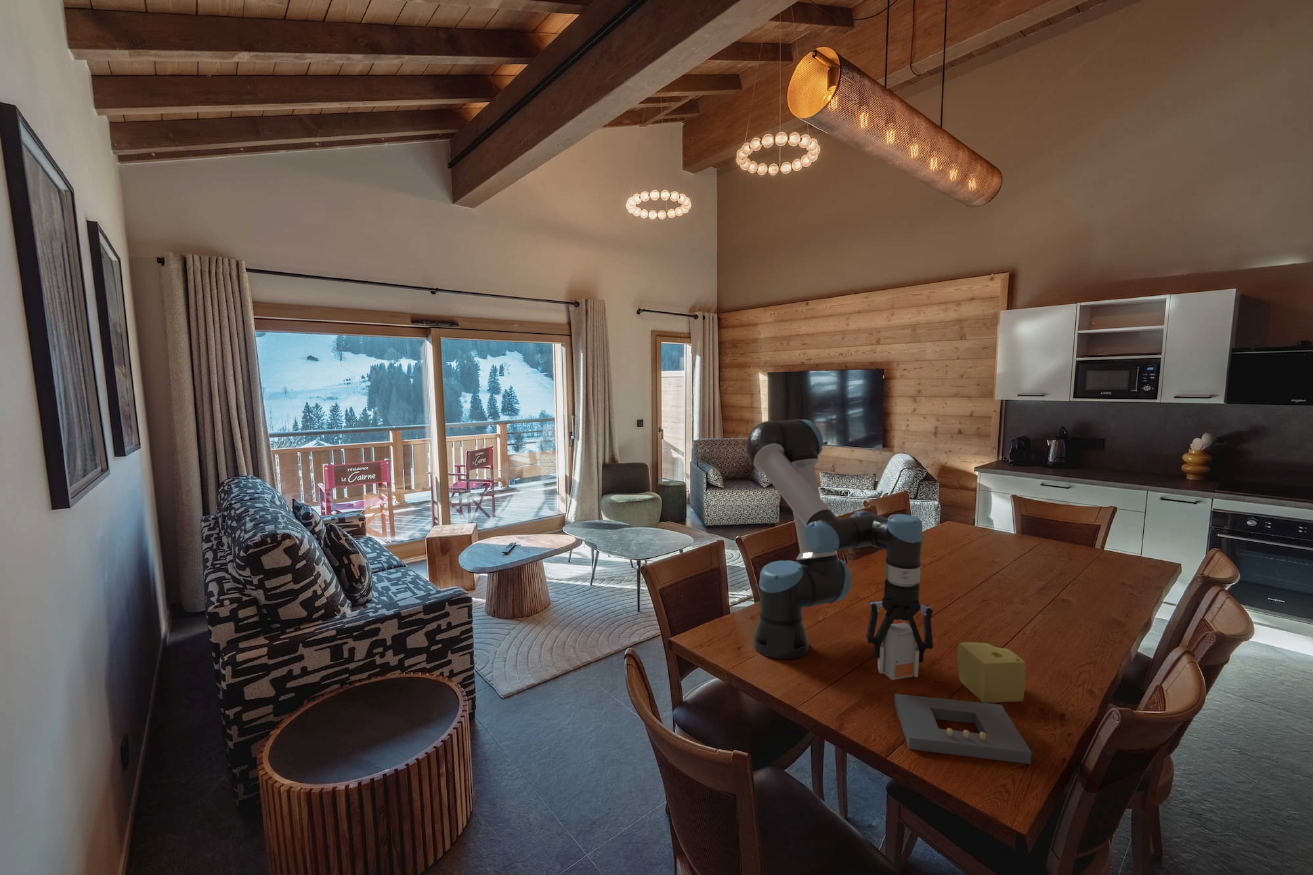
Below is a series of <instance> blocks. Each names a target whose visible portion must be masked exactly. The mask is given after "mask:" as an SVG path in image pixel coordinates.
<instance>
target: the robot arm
mask: <svg viewBox="0 0 1313 875" xmlns="http://www.w3.org/2000/svg"><path fill="white" fill-rule="evenodd" d="M745 446H746V447H745V448H746V454H747V457H748V459H749V461H750V463H751V464H752V465H753V467H754V468H755V469H756V470H757V471H759V472H763V473H764V476H766V478H767V479H768V480H769V482H770V483H771V484H772V485H773V487H774V488H775V490H776V491H777V492H778V493H779V494H780V496H781V497H782V498H783V500H785V503H786V504H787V505H788V506H789V507H790V509H791V511H792V514H793V519H794V520H793V521H794V525H795V530H796V536H797V540H798V541H797V542H798V546H799V551H800V552H799V554H798V556H797V557H796V561H793V560H783V559H782V560H776V561H771V562H769V563H767V564H766V565H764V566H763V567H762V568H761V570H760V574H759V582H758V586H759V619H758V623H757V626H756V628H755V631H754V633H753V647H754V649H755V650H756V652H758V653H760V654H762V656H763V655H764V656H766V657H768V658H771V659H772V658H773V659H778V660H794V659H795V660H796V659H799V658H801V657H803V656H805V655H806V654H808V652H809V648H810V647H809V646H810V645H809V643H810V642H809V639H808V638H809V637H808V635H807V632H806V628H805V625H804V623H803V609H806V608H810V607H815V606H820V605H826V604H833V603H835V602H838V601H841V600H843V599H845V598H846V597H847V596H848V593H850V591H851V586H852V576H851V570H850V569H849V566H847V563H846V562H845V561H844V560H842V559H839V555H838V552H840V551H845V550H850V549H851V550H852V549H857V548H863V547H865V548H866V547H870V546H872V547H875V548H876V549H880V550H882V551H885V567H884V568H885V569H884V570H885V571H884V577H885V580H884V588H883V589H884V591H883V593H884V594H883V598H882V599H881V601H875V600H874V599H873V600H870V601H869V605H870V615H869V618H868V619H869V620H868V624H867V631H866V636H865V638H866V639H867V642H868V644H872V645H873V656H874V657H875V659H877V668H878V669H877V670H878V673H879V674H884V673H883V658H884V646H883V640H884V638H885V636H886V634H887V632H888V630H889V628H890V626H891V625H892V624H894V621H895V620H896V621H899V620H901V621H905V622H906V621H907V622H908V623H909V624H908V625H909V626H910V627H911V629H912V631H913V634H914V637H915V640H916V641H915V644H916V645H915V656H914V670H913V677H914V678H919V663H920V664H921V663H923V662H924V654H925V652H926V650H927V649H928V650H933V648H934V645H933V644H934V642H933V641H934V640H933V631H932V617H933V613H934V610H933V609H932V607H931V606H930V604H926V605H924V604H921V603H920V584H919V583H920V581H921V566H922V565H921V561H922V559H921V558H922V548H923V539H924V535H923V521H922V520H921V519H920V518H919V517H917V516H914V515H911V514H910V515H909V514H904V513H896V514H895V513H894V514H891V515H889V516H888V518H887V517H884V516H882V515H881V516H880V515H878V514H876V513H874V512H871V511H867V510H856V511H855V512H854V513H852V514H851V515H849V517H848V516H847V517H842V518H838V517H837V515H835V514H834V513H833V512H832V510H831V509H830V508H829V507H828V506H827V504H826V503H825V502H824V500H823V499H822V497H821V494H820V488H819V483H818V479H817V478H818V477H817V472H816V469H815V466H816V465H817V463H818V462H819V457H818V456H819V455H820V454H821V453H822V451H823V446H824V438H823V435H822V432H821V429H820V427H818V425H817V424H816V423H813V421H812V420H809V419H799V418H795V419H785V420H767V421H762V422H760V423H758V424H757V425H755V426H754V427H753V428H752V429H751V430H750V432H749V433H748V435H747V438H746V444H745ZM882 607H883V608H884V610H885V611H886V612H885V615H884V618H883V619H882V622H881V623H880V626H879V628H878V630H877V632H876V627H877V621H878V616H879V615H878V614H879V613H878V612H880V611H881V609H882ZM919 611H920V613H921V615H922V620H923V621H922V622H923V623H922V624H923V634H924V635H923V636H924V641H923V640H922V638H921V635H920V633H919V629H918V627H917V624H916V621H915V618H914V616H915V615H916V614H917V613H918V612H919ZM875 632H876V633H875Z"/></svg>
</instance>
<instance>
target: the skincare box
mask: <svg viewBox="0 0 1313 875" xmlns="http://www.w3.org/2000/svg"><path fill="white" fill-rule="evenodd" d="M882 643H883V646H884V658H883V673H882V674H883V675H884V674H885V675H886V677H888V678H889V679H890V680H892V681H895V680H899V679H901V680H902V679H906V678H913V677H914V675H913V670H914V656H915V646H916V640H915V637H914V634H913V631H912V629H911V627H910V624H908V623H906V622H901V623H892V624H891V626H890V628H889V630H888V632H887V634H886V636H885V638H884V640H883V642H882Z"/></svg>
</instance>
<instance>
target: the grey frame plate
mask: <svg viewBox="0 0 1313 875" xmlns="http://www.w3.org/2000/svg"><path fill="white" fill-rule="evenodd" d="M894 706H895V710H896V712H897V716H898V718H899V721H900V725H901V728H902V732H903V736H904V738H905V741H906V744H907V747H908V750H911V751H912V750H913V751H921V752H929V753H930V752H931V753H937V754H939V753H940V754H945V755H953V756H954V755H955V756H963V757H970V758H976V759H977V758H978V759H985V760H995V761H1002V762H1010V763H1018V764H1027V765H1031V764H1032V750H1031V749H1030V748H1029V746H1028V744H1027V742H1026V741H1025V740H1024V738H1023V736H1022V735H1021V733H1020V732H1019V730H1018V729H1017V727H1016V725H1015V724H1014V723H1013V721H1012V719H1011V718H1010V716H1009V715H1008V713H1007V712H1006V710H1005V708H1004V707H1003V705H1002V704H997V703H983V702H981V701H980V702H978V701H977V702H976V701H968V700H959V699H950V698H949V699H948V698H939V697H929V696H919V695H913V694H912V695H910V694H903V693H902V694H901V693H894ZM936 720H940V721H941V720H942V721H950V722H960V723H968V724H974V725H975V727H976V728H977V731H978V732H979V733H978V732H970V731H969V730H968V729H963V730H962V731H961V730H954V729H952V728H951V727H947V728H946V729H943V728H940V727H939V725H938V723H937V721H936Z"/></svg>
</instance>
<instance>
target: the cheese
mask: <svg viewBox="0 0 1313 875" xmlns="http://www.w3.org/2000/svg"><path fill="white" fill-rule="evenodd" d="M956 655H957V668H958V669H957V670H958V675H959V682H960V683H961V684H963V686H964V687H966V688H967V689H968V690H969V691H970V692H971V693H972V694H973V695H974V696H975V697H976V698H978V699H979V700H980V702H981V703H989V704H997V703H1009V702H1024V698H1025V690H1026V689H1025V688H1026V669H1027V668H1026V665H1027V664H1026V661H1025V660H1024V659H1022V658H1021V657H1020V656H1019V655H1017V654H1016V653H1015V652H1013V651H1012V650H1010V649H1009V648H1005V647H1004V648H1003V647H997V646H994V645H993V644H990V643H987V642H973V641H963V642H959V643H958V648H957V654H956Z"/></svg>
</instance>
